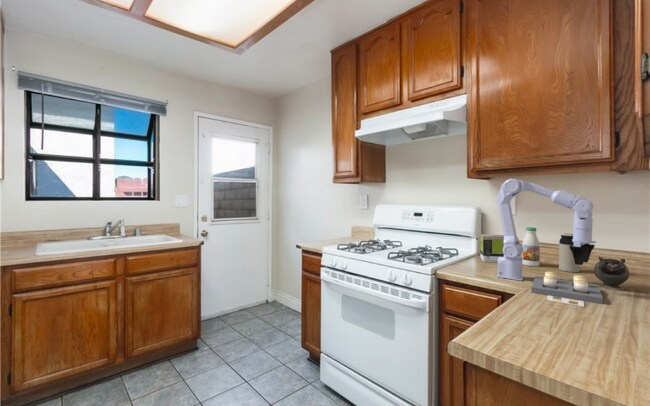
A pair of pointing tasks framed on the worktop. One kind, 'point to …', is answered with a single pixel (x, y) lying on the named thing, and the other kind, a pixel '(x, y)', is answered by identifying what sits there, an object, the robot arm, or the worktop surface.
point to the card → (565, 301)
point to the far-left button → (551, 274)
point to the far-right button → (579, 278)
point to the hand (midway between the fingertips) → (581, 263)
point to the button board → (567, 290)
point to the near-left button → (550, 281)
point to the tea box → (491, 247)
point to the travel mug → (567, 254)
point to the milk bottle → (530, 248)
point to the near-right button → (581, 286)
